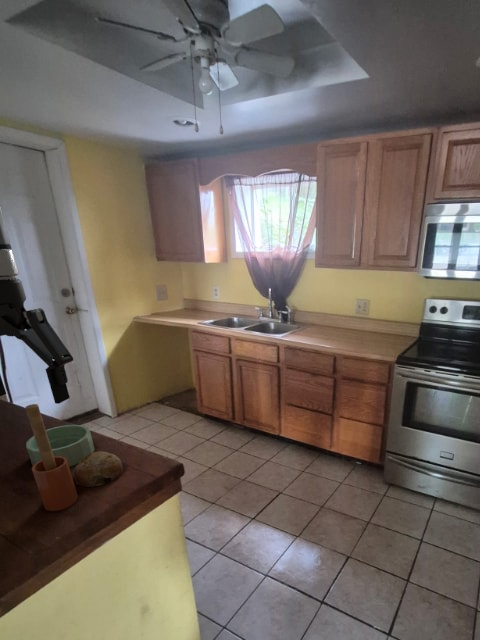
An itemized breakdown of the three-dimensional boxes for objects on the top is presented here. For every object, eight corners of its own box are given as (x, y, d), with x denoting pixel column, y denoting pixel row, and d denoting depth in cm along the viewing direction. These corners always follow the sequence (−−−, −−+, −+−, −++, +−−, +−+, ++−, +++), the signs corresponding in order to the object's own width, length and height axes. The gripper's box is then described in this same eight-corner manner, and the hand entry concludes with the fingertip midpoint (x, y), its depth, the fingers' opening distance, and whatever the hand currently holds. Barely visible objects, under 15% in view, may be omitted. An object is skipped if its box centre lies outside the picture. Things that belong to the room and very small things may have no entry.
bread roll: (85, 505, 83) (83, 484, 78) (66, 472, 87) (63, 451, 82) (128, 485, 90) (130, 465, 85) (109, 456, 94) (109, 435, 89)
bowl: (19, 469, 90) (11, 448, 88) (61, 442, 102) (55, 423, 100) (69, 475, 88) (63, 453, 86) (105, 446, 100) (101, 426, 98)
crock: (38, 512, 76) (23, 471, 72) (60, 493, 81) (48, 454, 77) (64, 515, 75) (51, 474, 71) (84, 496, 80) (74, 457, 77)
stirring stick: (51, 503, 77) (20, 407, 69) (58, 497, 79) (29, 403, 70) (64, 505, 77) (34, 408, 68) (71, 499, 79) (43, 404, 70)
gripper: (77, 277, 62) (104, 394, 70) (-49, 275, 65) (-10, 387, 74) (41, 281, 55) (75, 411, 63) (-97, 279, 59) (-48, 402, 67)
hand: (30, 398), depth 69 cm, fingers open, 13 cm apart
